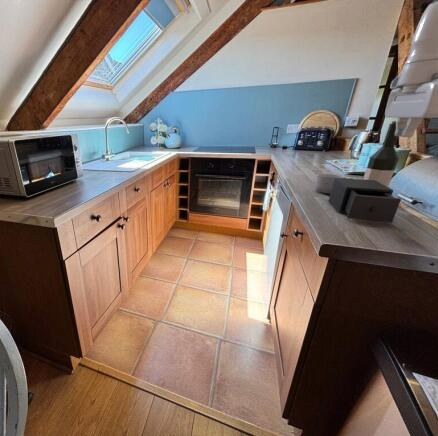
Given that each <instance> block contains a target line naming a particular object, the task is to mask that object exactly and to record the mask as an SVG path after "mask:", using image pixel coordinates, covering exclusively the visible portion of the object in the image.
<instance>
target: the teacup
mask: <svg viewBox="0 0 438 436" xmlns="http://www.w3.org/2000/svg"><path fill="white" fill-rule="evenodd" d="M335 178H346V179H355V178H354V177H350V176H348V177H347V176H346V175H343V174H334V173H317V174H316V177H315V181H314V188H315V189H316V190H317V192H319V193H322V194H328V195H330V194H331V190H332V187H333V183H334V180H335Z"/></svg>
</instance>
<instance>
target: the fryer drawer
mask: <svg viewBox="0 0 438 436" xmlns="http://www.w3.org/2000/svg"><path fill="white" fill-rule="evenodd" d="M401 201H402V198H400V197H394V196H393V195H392V196H391V195H389V194H388V193H386V192H378V191H364V190H350V189H349V190H348V193H347V197H346V200H345V203H344V206H343V209H344V210H345V212H346V213H347V215H346V218H348V219H353V220H364V221H372V222H373V221H374V222H381V223H382V222H383V223H393V221H394V219H395V216H396V213H397V211H398V210H399V209H398V208H399V206H400V204H401Z"/></svg>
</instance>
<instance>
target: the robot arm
mask: <svg viewBox="0 0 438 436" xmlns="http://www.w3.org/2000/svg"><path fill="white" fill-rule="evenodd" d="M409 52H410V53H409V55H408V57H407V59H406V60H405V62H404V63H403V67H402V70H401V71H400V73H399V74H398V75H397V76H396V77H394V79H392V80H391V83H390V87H389V88H390V90H391V89H392V90H391V91H390V93H389V95H388V99H387V102H386V107H385V112H384V116H385V118H392V119H394V118H396V131H395V134H394V135H395V136H398V137H402V138H412V137H414V134H415V132H416V130H417V129H418V128H419V126H420V125H421V124H422V122H423V119H438V0H433V1H432V2H430V3H429V4H428V6H427V7H426V9H425V10H424V11H423V13H422V15H421V17H420V19H419V22H418V24H417V26H416V29H415V32H414V34H413V37H412V39H411V43H410V51H409Z"/></svg>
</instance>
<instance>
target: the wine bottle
mask: <svg viewBox="0 0 438 436" xmlns="http://www.w3.org/2000/svg"><path fill="white" fill-rule="evenodd" d="M396 121H397V120H396ZM396 121H394V120H392V122H391V123H389V126H388V129H387V131H386V135H385V137H384V140H383V143H382V146H381V147H380V148H378V150H377V151H375V152H374V153H373V154H372V155H371V156H370V157H369V160H368V163H367V166H366V169H365V172H364V175H363V178H362V179H363V180H375V181H377V182H379V183H381V184H383V185H385V186H386V187H388V188H390V183H391V181H392V178H393V175H394V174H395V170H396V168H397V166H398V162H399V160H400V158H399V156H398V152H397V151H396V148H395V146H396V143H397V140H398V138H399V136H395V135H394V134H395V131H396Z"/></svg>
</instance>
